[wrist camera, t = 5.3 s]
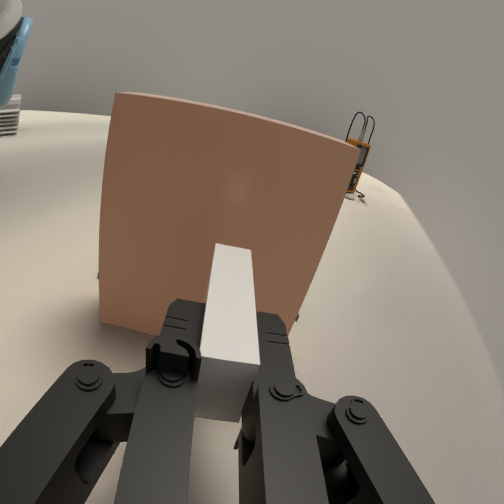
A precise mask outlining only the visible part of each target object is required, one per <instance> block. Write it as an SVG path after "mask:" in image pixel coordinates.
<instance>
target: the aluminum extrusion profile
mask: <svg viewBox="0 0 504 504" xmlns="http://www.w3.org/2000/svg"><path fill="white" fill-rule="evenodd" d="M21 97H22V96H21V94H17V95H12V97H11V99H10V101H9V102H8V103H7V104H6V105H5V106H4V107H1V108H0V138H2V137H13V136H17V131H18V123H19V113H20V103H21Z"/></svg>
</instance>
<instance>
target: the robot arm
mask: <svg viewBox="0 0 504 504" xmlns="http://www.w3.org/2000/svg"><path fill="white" fill-rule="evenodd" d="M22 6H23V5H22V2H21V1H20V0H0V108H1V107H4V106H5V105H6V104H7V103H8V102H9V101H10V99H11V97H12V94H13V90H14V86H15V82H16V78H17V74H18V70H19V66H20V63H21V60H22V56H23V52H24V49H25V46H26V43H27V40H28V37H29V34H30V31H31V28H32V24H33V20H32V19H31V18H27V17H22V18H21V16H22ZM241 415H242V428H241V430H240V433H239V435H238V437H237V440H236V442H235V445H234V449H238V452H239V504H435V502H434V501H433V499H432V498H431V496H430V494H429V493H428V491H427V489H426V488H425V486H424V485H423V483H422V481H421V480H420V478H419V477H418V475H417V473H416V472H415V470H414V469H413V467H412V465H411V464H410V462H409V461H408V459H407V458H406V456H405V454H404V453H403V451H402V450H401V448H400V446H399V445H398V443H397V442H396V440H395V439H394V437H393V435H392V434H391V432H390V431H389V429H388V428H387V426H386V425H385V423H384V421H383V420H382V418H381V417H380V415H379V414H378V412H377V411H376V409H375V408H374V407H373V406H372V404H371V403H370V402H368V401H367V400H365V399H363V398H361V397H357V396H345V397H343V398H340V399H339V400H338V402H337V403H336V404H335V403H331V402H328V401H325V400H321V399H318V398H316V397H313V396H311V395H310V394H308V393H307V391H306V389H305V387H304V385H303V384H302V383H301V382H300V381H299V380H298V379H296V377H295V372H294V366H293V361H292V356H291V351H290V346H289V340H288V337H287V330H286V325H285V323H284V322H283V321H282V319H281V318H280V317H279V315H278V314H271V313H265V312H259V311H256V307H255V294H254V282H253V269H252V257H251V250H249V249H244V248H238V247H233V246H228V245H223V244H217V243H216V245H215V250H214V255H213V260H212V265H211V271H210V276H209V281H208V287H207V292H206V298H205V303H200V302H195V301H189V300H184V299H179V298H177V299H176V300H175V301H174V302H172V303H171V304H170V305H169V306H168V310H167V313H166V317H165V319H164V323H163V326H162V329H161V333H160V336H159V337H157V338H155V339H153V340H152V341H150V342H149V344H148V346H147V347H146V367H145V368H143V369H142V370H139V371H136V372H131V373H112V372H111V370H110V368H109V367H107V366H106V365H104V364H103V363H101V362H98V361H95V360H82V361H78V362H75V363H73V364H72V365H71V366H69V367H68V368H67V369H66V370H65V371H64V373H63V374H62V375H61V376H60V377H59V378H58V379H57V380H56V382H55V383H54V384H53V385H52V386H51V387H50V388H49V390H48V391H47V392H46V393H45V394H44V395H43V396H42V398H41V399H40V400H39V401H38V402H37V403H36V405H35V406H34V407H33V408H32V409H31V411H30V412H29V413H28V414H27V415H26V416H25V418H24V419H23V420H22V421H21V422H20V424H19V425H18V426H17V427H16V429H15V430H14V431H13V432H12V433H11V435H10V436H9V437H8V438H7V440H6V441H5V442H4V443H3V445H2V446H1V447H0V504H84V503H85V502H86V500H87V498H88V496H89V495H90V493H91V491H92V490H93V488H94V486H95V484H96V483H97V481H98V479H99V478H100V476H101V474H102V472H103V471H104V469H105V467H106V466H107V464H108V462H109V460H110V459H111V457H112V455H113V454H114V452H115V450H116V449H117V447H118V445H119V444H120V442H127V445H126V450H125V454H124V458H123V463H122V468H121V472H120V477H119V482H118V487H117V492H116V497H115V502H114V504H187V490H188V477H189V465H190V453H191V442H192V432H193V421H194V417H199V418H205V419H213V420H220V421H229V422H238V423H239V420H240V417H241Z"/></svg>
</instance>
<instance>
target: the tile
mask: <svg viewBox="0 0 504 504" xmlns="http://www.w3.org/2000/svg"><path fill="white" fill-rule="evenodd" d="M360 152H361V150H360V149H359V148H357V147H355V146H353V145H351V144H349V143H347V142H344V141H342V140H339V139H336V138H333V137H331V136H327V135H324V134H321V133H318V132H315V131H311V130H309V129H305V128H302V127H299V126H295V125H292V124H289V123H285V122H281V121H278V120H274V119H271V118H267V117H262V116H259V115H255V114H251V113H247V112H242V111H238V110H234V109H230V108H225V107H221V106H216V105H211V104H206V103H201V102H196V101H190V100H184V99H178V98H173V97H166V96H160V95H153V94H145V93H138V92H116V93H115V98H114V103H113V108H112V114H111V120H110V126H109V133H108V140H107V147H106V155H105V163H104V172H103V183H102V194H101V209H100V228H99V301H100V321H101V322H104V323H108V324H111V325H115V326H119V327H122V328H126V329H130V330H134V331H138V332H142V333H146V334H150V335H154V336H160V333H161V329H162V326H163V323H164V319H165V317H166V313H167V310H168V306H169V305H170V304H171V303H172V302H174V301H175V300H176V299H177V298H179V299H184V300H189V301H195V302H200V303H205V298H206V292H207V287H208V281H209V276H210V271H211V265H212V260H213V255H214V250H215V245H216V243H217V244H223V245H228V246H233V247H238V248H244V249H249V250H251V257H252V269H253V282H254V294H255V307H256V311H259V312H265V313H271V314H278V315H279V317H280V318H281V319H282V321H283V322H284V323H285V325H286V330H287V337H288V335H289V332H290V330H291V328H292V326H293V323H294V321H295V319H296V317H297V314H298V312H299V310H300V307H301V305H302V303H303V301H304V298H305V296H306V293H307V291H308V289H309V286H310V284H311V282H312V279H313V277H314V274H315V272H316V270H317V267H318V265H319V262H320V260H321V257H322V255H323V252H324V250H325V247H326V245H327V242H328V240H329V237H330V234H331V232H332V229H333V227H334V224H335V221H336V219H337V216H338V214H339V211H340V208H341V205H342V203H343V200H344V197H345V195H346V192H347V189H348V186H349V184H350V181H351V178H352V175H353V172H354V169H355V166H356V164H357V161H358V158H359V155H360Z"/></svg>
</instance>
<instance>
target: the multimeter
mask: <svg viewBox="0 0 504 504" xmlns="http://www.w3.org/2000/svg"><path fill="white" fill-rule="evenodd" d="M358 113H362V112H358ZM358 113H356V114H355V117H356V115H357V114H358ZM362 114H363V113H362ZM363 116H364V114H363ZM355 117H354V118H355ZM368 117H371V116H368ZM368 117H367V123H368ZM354 118H353V120H354ZM371 118H372V117H371ZM372 119H373V118H372ZM353 120H352V123H353ZM364 120H365V116H364ZM373 121H374V119H373ZM365 122H366V121H365ZM365 122H364V125H365ZM352 123H351V125H350V128H349V131H350V129H351V126H352ZM367 123H366V126H367ZM374 124H375V122H374ZM366 126H365V128H366ZM363 129H364V126H363ZM363 129H362V131H361V134H360V136H359V139H358V140H355V139H353V138H348V135H349V131H348V134H347V138H348V140H347V138H346V141H345V142H347V143H349V144H351V145H353V146H355V147H357V148H359V149H360V150H361V152H360V155H359V158H358V161H357V164H356V166H355V169H354V172H353V175H352V178H351V181H350V184H349V186H348V189H347V192H351V193H354V192H355V191H356V192H358V191H357V190H356V187H357V184H358V181H359V178H360V176H361V173H362V170H363V167H364V164H365V161H366V158H367V156H368V153H369V149H370V145H369V142H368V144H367V143H364V142H362V141H363V138H364V134H365V130H366V129H365V130H364V132H363ZM373 129H374V125H373ZM362 133H363V135H362ZM372 133H373V130H372ZM372 133H371V135H372ZM371 135H370V138H371ZM370 138H369V141H370ZM358 193H360V192H358ZM360 194H361V195H363V194H362V193H360ZM358 197H359V198H360V199H361V200H362V201H363V203H366V201H365V200H363V199H362V198H361V197H364V195H363V196H360V195H358ZM344 198H348V199H351V200H357V199H354V198H352V197H348V196H345V197H344ZM357 201H360V200H357ZM366 204H367V203H366Z"/></svg>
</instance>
